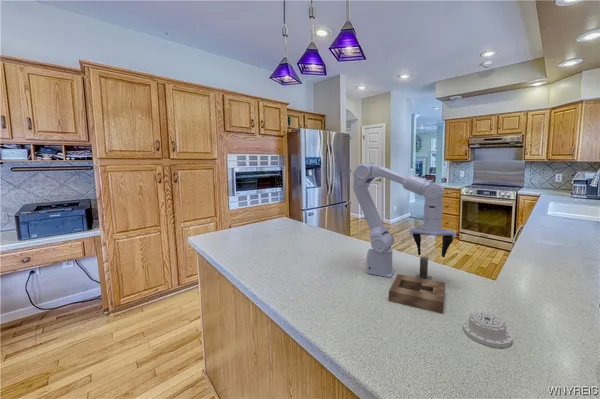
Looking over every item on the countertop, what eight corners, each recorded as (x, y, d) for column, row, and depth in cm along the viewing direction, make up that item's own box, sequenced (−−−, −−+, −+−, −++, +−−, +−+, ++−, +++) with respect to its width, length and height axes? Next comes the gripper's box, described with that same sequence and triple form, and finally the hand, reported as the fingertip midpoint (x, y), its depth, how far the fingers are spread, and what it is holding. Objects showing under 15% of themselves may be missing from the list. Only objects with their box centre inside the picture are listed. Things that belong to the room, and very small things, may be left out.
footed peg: (415, 283, 93) (415, 259, 92) (416, 277, 97) (417, 254, 96) (430, 286, 91) (431, 261, 89) (431, 280, 95) (432, 256, 94)
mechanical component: (512, 332, 65) (465, 318, 72) (513, 316, 65) (466, 303, 71) (511, 355, 58) (460, 337, 64) (513, 337, 57) (460, 321, 63)
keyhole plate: (388, 300, 82) (388, 290, 81) (397, 283, 93) (397, 274, 93) (442, 313, 74) (443, 302, 73) (444, 292, 86) (445, 282, 85)
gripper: (410, 219, 89) (409, 257, 91) (459, 221, 84) (456, 261, 86) (409, 215, 95) (408, 250, 97) (454, 217, 90) (452, 254, 92)
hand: (431, 255), depth 92 cm, fingers open, 7 cm apart
